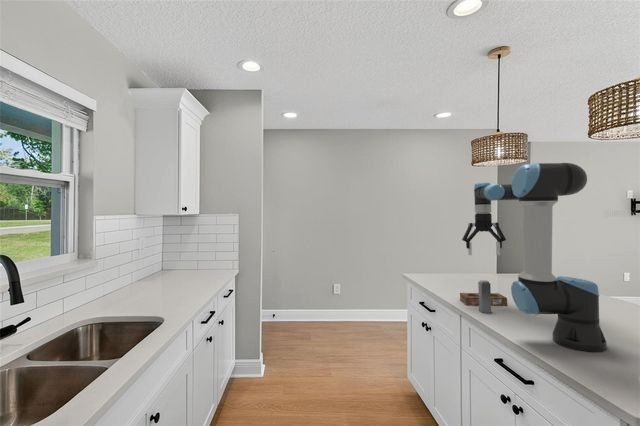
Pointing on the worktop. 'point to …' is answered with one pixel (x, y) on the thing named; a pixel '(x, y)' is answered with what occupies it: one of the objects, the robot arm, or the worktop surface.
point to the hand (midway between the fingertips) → (484, 255)
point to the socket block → (474, 299)
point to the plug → (484, 296)
